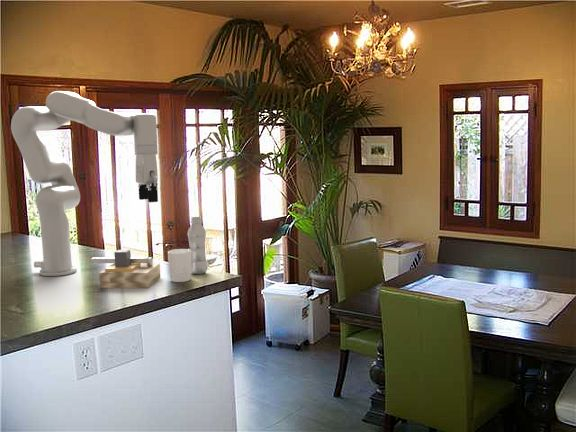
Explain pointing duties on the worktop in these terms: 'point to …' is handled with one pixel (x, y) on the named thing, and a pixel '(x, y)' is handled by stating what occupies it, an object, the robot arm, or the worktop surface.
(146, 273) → the socket block
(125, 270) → the plug
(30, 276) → the worktop surface
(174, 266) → the white cup
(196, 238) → the plastic bottle
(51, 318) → the worktop surface
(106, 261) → the silver rod
